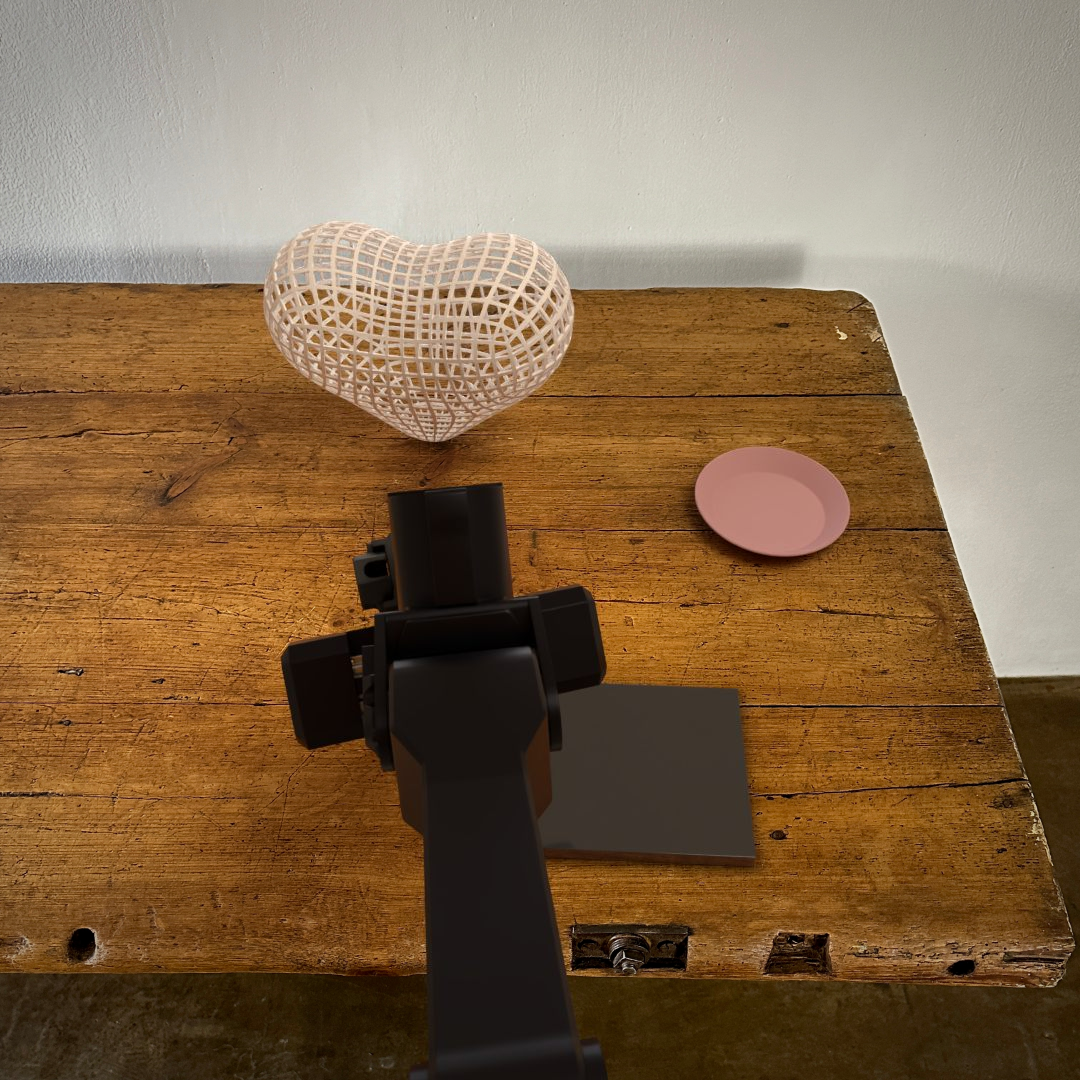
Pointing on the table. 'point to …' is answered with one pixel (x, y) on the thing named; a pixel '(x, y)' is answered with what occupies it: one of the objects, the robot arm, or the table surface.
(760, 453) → the plate
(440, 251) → the heart
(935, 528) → the table surface
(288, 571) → the table surface
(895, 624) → the table surface
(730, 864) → the serving board
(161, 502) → the table surface
